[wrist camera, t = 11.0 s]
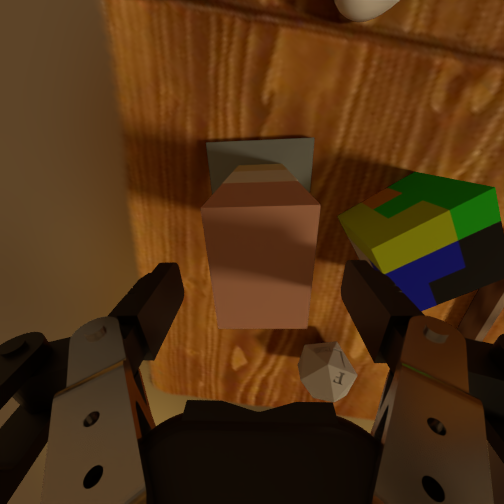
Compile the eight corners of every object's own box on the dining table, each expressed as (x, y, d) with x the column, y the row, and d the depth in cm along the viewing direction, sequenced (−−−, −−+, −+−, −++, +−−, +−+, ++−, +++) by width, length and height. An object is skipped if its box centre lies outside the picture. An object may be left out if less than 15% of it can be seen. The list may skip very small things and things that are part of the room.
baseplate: (208, 142, 25) (205, 142, 24) (312, 137, 25) (314, 137, 24) (219, 237, 31) (217, 240, 30) (304, 235, 30) (306, 238, 29)
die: (351, 336, 39) (379, 394, 30) (323, 364, 43) (340, 424, 34) (311, 320, 37) (327, 376, 28) (285, 351, 41) (292, 409, 32)
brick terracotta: (222, 183, 14) (200, 208, 9) (297, 180, 14) (320, 205, 9) (231, 272, 18) (218, 328, 12) (292, 271, 17) (306, 328, 12)
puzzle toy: (364, 269, 32) (404, 317, 23) (336, 216, 29) (371, 249, 20) (435, 235, 30) (511, 275, 21) (414, 171, 26) (495, 187, 17)
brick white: (232, 171, 20) (222, 182, 14) (287, 169, 19) (298, 180, 14) (238, 241, 23) (231, 271, 18) (285, 240, 23) (293, 270, 17)
